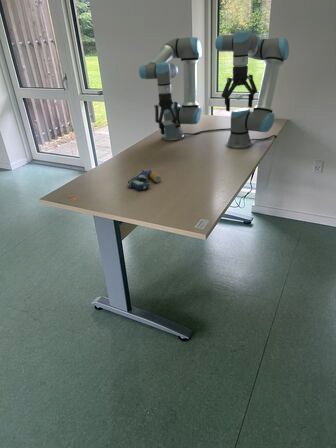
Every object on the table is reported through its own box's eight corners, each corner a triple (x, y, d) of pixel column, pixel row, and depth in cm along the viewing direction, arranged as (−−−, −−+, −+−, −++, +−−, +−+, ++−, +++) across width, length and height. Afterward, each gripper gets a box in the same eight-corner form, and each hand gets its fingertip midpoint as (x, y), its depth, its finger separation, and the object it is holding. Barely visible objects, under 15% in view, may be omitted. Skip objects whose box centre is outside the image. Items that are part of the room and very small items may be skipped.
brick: (165, 137, 198) (164, 125, 194) (160, 134, 205) (159, 122, 201) (176, 135, 200) (175, 123, 196) (171, 132, 207) (170, 120, 203)
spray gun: (166, 176, 187) (143, 174, 193) (165, 169, 185) (142, 167, 191) (148, 193, 172) (124, 189, 178) (147, 185, 170) (123, 182, 176)
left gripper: (150, 96, 184) (154, 137, 196) (183, 91, 189) (185, 131, 201) (146, 94, 190) (151, 134, 203) (178, 89, 195) (181, 128, 207)
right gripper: (221, 69, 163) (221, 113, 174) (265, 63, 169) (263, 106, 180) (214, 68, 169) (215, 111, 180) (257, 62, 175) (255, 104, 186)
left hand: (168, 132), depth 202 cm, fingers closed on brick, 7 cm apart
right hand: (239, 109), depth 180 cm, fingers open, 13 cm apart
